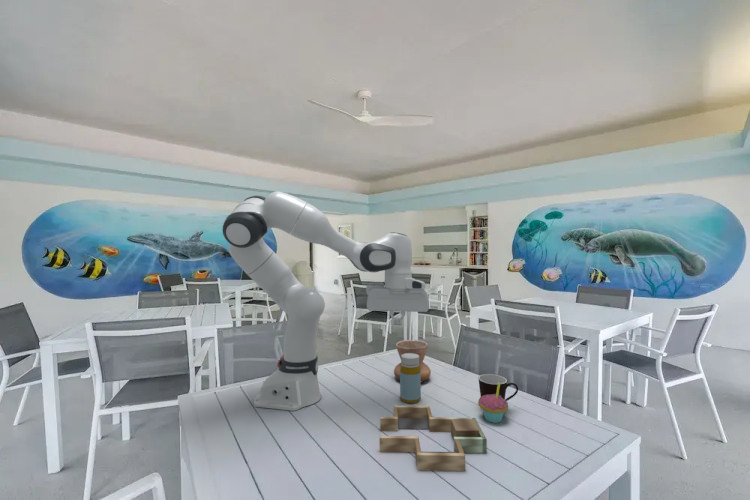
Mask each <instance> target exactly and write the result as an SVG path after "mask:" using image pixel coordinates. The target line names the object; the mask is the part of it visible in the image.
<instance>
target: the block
mask: <svg viewBox="0 0 750 500" xmlns="http://www.w3.org/2000/svg"><path fill="white" fill-rule="evenodd" d="M450 436H451V438H452V441H453V442H454V437H479V429H478V428H477V426H476V424H475V422H474V420H473V419H451V432H450Z"/></svg>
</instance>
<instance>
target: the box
mask: <svg viewBox="0 0 750 500" xmlns="http://www.w3.org/2000/svg"><path fill="white" fill-rule="evenodd" d="M451 419H473V420H474V422H475V424H476V426H477V428H478V429H479V437H454V441H453V451H422V449H421V442H420V437H419V436H418V435H417V436H416V435H412V436H411V435H408V436H407V435H379V440H378V441H379V452H381V453H414V454H415V463H416V469H417V471H448V472H449V471H452V472H455V471H456V472H457V471H459V472H461V471H462V472H466V454H488V448H487V447H488V445H487V444H488V443H487V442H488V440H487V437H486V435H485V433H484V431H483V430H482V428H481V426H480V424H479V422H478V420H477V418H476V417H447V416H445V417H441V416H440V417H435V416H433V414H432V410H431V406H430V405H393V416H380V418H379V422H380V423H379V431H380V432H399V430H424V431H425V430H427V431H428V430H429V432H436V433H437V432H446V433H447V432H448V433H451Z"/></svg>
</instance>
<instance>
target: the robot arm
mask: <svg viewBox="0 0 750 500" xmlns="http://www.w3.org/2000/svg"><path fill="white" fill-rule="evenodd" d="M273 228H274V229H278V230H280V231H283V232H285V233H286V234H288V235H291V236H293V237H294V238H297V239H299V240H302V241H305V242H308V243H311V244H317V245H321V246H324V247H326V248H329V249H331V250H332V251H335V252H336V253H338V254H340V255H342V256H344V257H345V258H347V259H348V260H349V261H350V262H351V264H352V265H353V266H354V268H355V269H357V270H359V271H361V272H363V273H365V272H366V273H367V272H368V273H379V272H384V281H378V282H377V281H376V282H375V281H371V282H370V283H368V284H366V286H365V290H366V291H365V293H366V295H367V299H366V309H367V310H368V311H371V312H373V311H375V312H389V316H390V317H391V319H392V325H393V326H402V325H403V320H404V318H405V316H406V312H413V313H417V312H419V313H426V312H428V311H429V309H430V301H429V295H428V292H427V290H425V288H426V283H425V282H424V281H423V280H420V279H418V278H414V277H413V276H412V275H413V274H412V273H413V271H412V270H411V269H412V268H411V266H412V265H411V264H412V261H413V247H412V240H411V238H410V236H408V235H406V234H405V233H400V232H393V231H392V232H388V233H387V234H386V235H384V236H382V237H380V238H378V239H376V240H373V241H370V242H360V241H356V240H354V239H353V238H351V237H348V236H346V234H343V233H341V232H340V231H338V230H337V229H335V228H334V226H332V224H331V223H330V220H329V219H328V217H327V214H325V213H324V212H322V211H321V210H319V209H318V208H317V207H316V206H314V205H312V204H310V203H309V202H307V201H305V200H303V199H301V198H299V197H296V196H295V195H292V194H289V193H286V192H284V191H279V190H276V191H275V190H274V191H273V192H270V194H268V195H267V196H266V197H265V196H262V195H251V196H248V197H247V198H245V199H244V200H243V201H242V202H241V203H239V204H238V205H236V207H235V208H234V209H233V210H232V211H231V213H230V214H229V215H228V216H227V217H226V218H225V219H224V222H223V225H222V235H223V237H224V239H225V241H227V243H228V244H229V245H228V252H229V254H230V256H231V258H232V259H233V260H234V262H235V263H236V264H237V265H238V266H239V268H240V269H241V270H242V271H243V272H244V273H245V275H247V276H248V277H249V278H250V279H251V280H252V281H253V282H254V283H256V284H257V285H258V286H259V287H260V288H261V289H262V290H263V291H264V292H265V294H267V296H268V297H270V299H271V300H272V302H274V303H275V304H276V305H277V306H278V308H279V309H280V310H282V311H283V313H285V314H287V316H288V318H287V324H286V330H285V333H284V335H283V355H281V356H280V357H279V360H278V361H277V363H276V367H277V368H278V369H276V370H275V371H274V372H273V373H271V374H270V375H269V376H268V377H266V379H265V380H264V381H263V382H262V385H261V388H260V391H259V392H258V393H257V394H256V395H255V397H254V399H253V404H252V405H253V406H254V407H255V408H264V409H273V410H283V411H291V412H294V411H298V410H300V409H302V408H304V407H308V406H311V405H314V404H316V403H317V402H319V401H320V400H321V399H322V393H321V389H320V386H319V378H318V373H319V360H318V359H319V357H318V354H317V337H318V336H317V334H318V328H319V327H318V326H319V323H320V318H321V316H322V315H323V313H324V311H325V307H326V306H325V305H326V303H325V299H324V297H323V296H322V295H321V294H320V292H319V291H317V290H316V289H315V288H312V287H308V286H305V285H303V284H302V283H301V282H300V281H299V280H298V279H297V277H296V276H295V275H294V273H293V272H292V271H291V268H290V266H288V264H287V263H286V262H285V261H284V260H282V259H281V258H280V257H279V256H278V254H277V253H276V252H275V251H273V249H272V248H271V247H270V246H269V245H267V243H266V242H265V240H264V239H263V238H264V235H266V234H267V233H268V230H269V229H273ZM395 312H400V314H401V315H400V317H399V318H395V316H394V315H395Z"/></svg>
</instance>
